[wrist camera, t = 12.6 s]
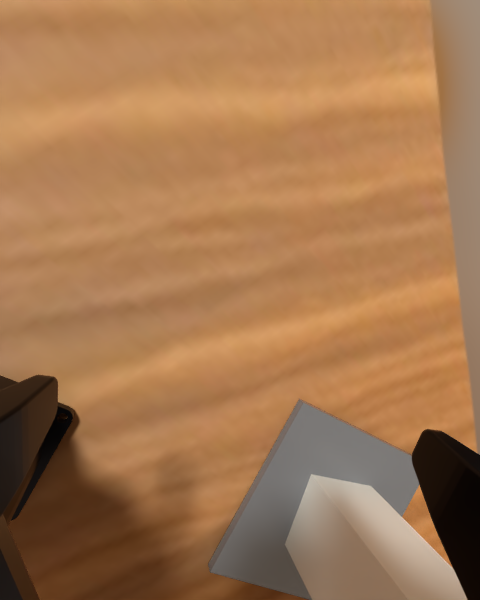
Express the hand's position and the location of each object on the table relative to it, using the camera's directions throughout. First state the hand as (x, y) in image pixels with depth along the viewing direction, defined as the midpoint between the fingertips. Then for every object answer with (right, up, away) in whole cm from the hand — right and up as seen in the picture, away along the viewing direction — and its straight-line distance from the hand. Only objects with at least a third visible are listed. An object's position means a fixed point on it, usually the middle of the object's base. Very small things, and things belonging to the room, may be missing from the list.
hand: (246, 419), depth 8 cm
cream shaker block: (+6, -12, +15) cm, 20 cm away
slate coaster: (+6, -12, +16) cm, 20 cm away
